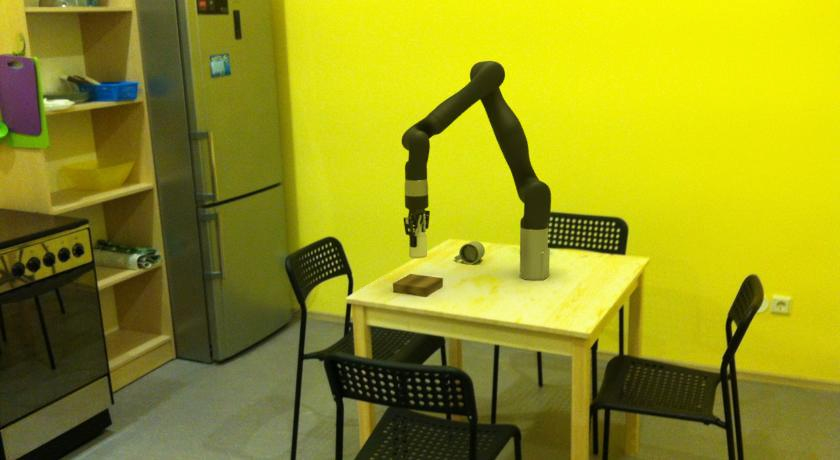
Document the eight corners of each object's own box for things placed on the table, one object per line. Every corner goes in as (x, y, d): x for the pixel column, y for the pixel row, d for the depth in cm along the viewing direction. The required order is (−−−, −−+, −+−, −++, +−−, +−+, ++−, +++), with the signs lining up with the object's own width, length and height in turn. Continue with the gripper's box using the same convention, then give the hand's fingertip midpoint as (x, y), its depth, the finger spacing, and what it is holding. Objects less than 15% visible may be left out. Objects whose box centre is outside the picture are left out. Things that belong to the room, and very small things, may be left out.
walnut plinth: (442, 286, 266) (442, 277, 265) (426, 297, 256) (426, 287, 255) (410, 282, 271) (410, 273, 271) (393, 292, 261) (392, 283, 260)
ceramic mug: (486, 259, 298) (485, 239, 296) (479, 265, 290) (478, 244, 289) (459, 257, 302) (458, 237, 300) (451, 263, 294) (450, 242, 293)
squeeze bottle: (424, 259, 258) (424, 222, 256) (407, 258, 260) (407, 221, 257) (428, 255, 262) (427, 219, 260) (411, 254, 264) (410, 218, 261)
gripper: (416, 197, 248) (417, 251, 252) (437, 190, 261) (437, 241, 265) (395, 196, 252) (396, 249, 256) (416, 188, 264) (417, 239, 268)
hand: (417, 244), depth 260 cm, fingers closed on squeeze bottle, 5 cm apart
